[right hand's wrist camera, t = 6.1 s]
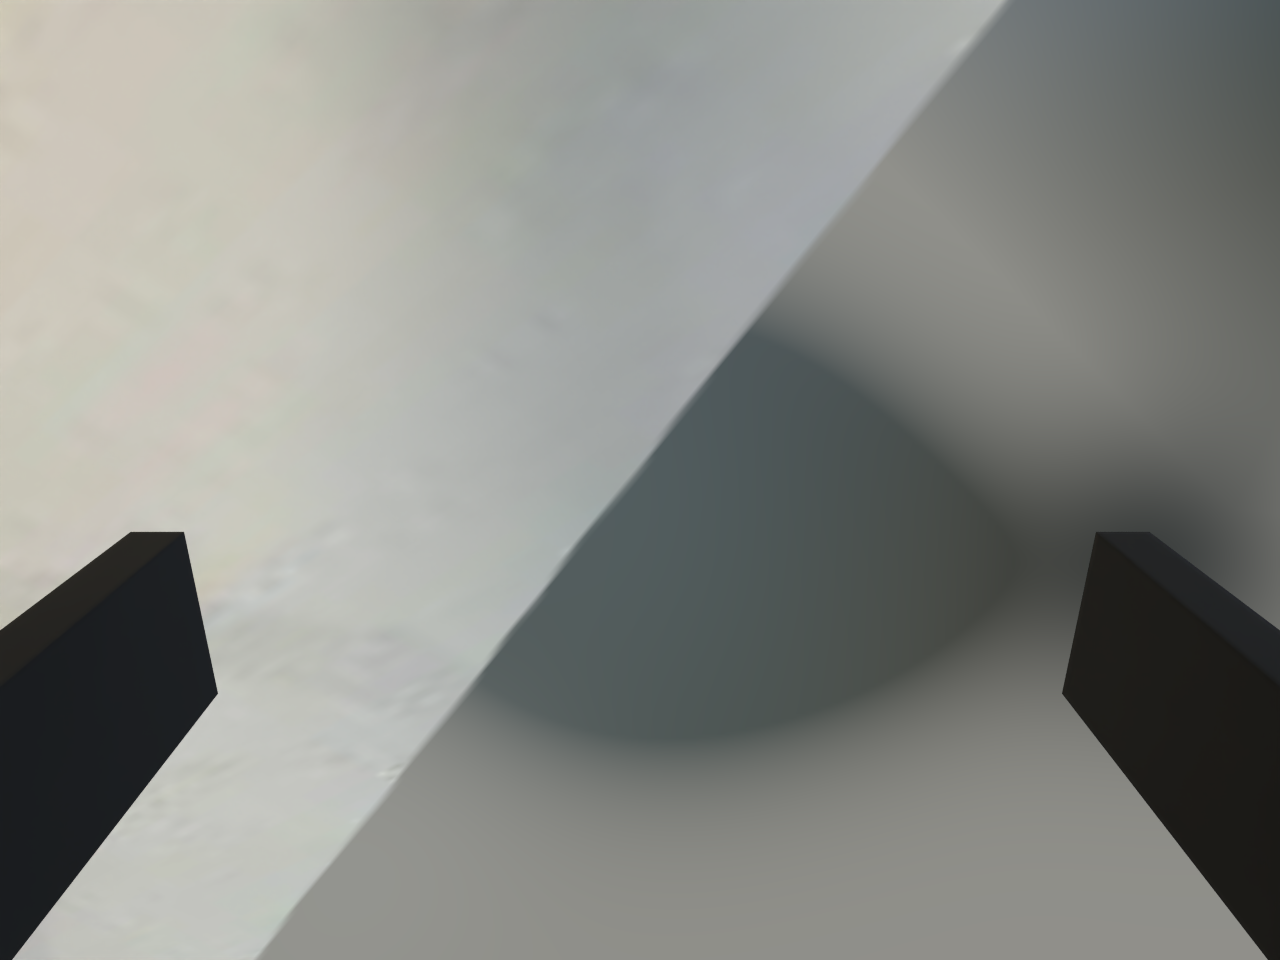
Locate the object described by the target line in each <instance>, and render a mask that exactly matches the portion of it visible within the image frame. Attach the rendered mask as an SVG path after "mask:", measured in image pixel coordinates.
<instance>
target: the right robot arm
mask: <svg viewBox="0 0 1280 960" xmlns="http://www.w3.org/2000/svg"><path fill="white" fill-rule="evenodd" d="M217 694H218V692H217V687H216V682H215V678H214V673H213V668H212V663H211V658H210V654H209V649H208V644H207V639H206V635H205V630H204V625H203V620H202V616H201V611H200V606H199V601H198V597H197V592H196V587H195V582H194V578H193V573H192V568H191V563H190V559H189V554H188V549H187V544H186V540H185V535H184V532H130V533H129V534H127V535H126V536H125V537H123V538H122V539H121V540H119V541H118V542H117V543H115V544H114V545H113V546H112V547H110V548H109V549H108V550H106V551H105V552H104V553H102V554H101V555H100V556H98V557H97V558H96V559H94V560H93V561H92V562H90V563H89V564H88V565H86V566H85V567H84V568H82V569H81V570H80V571H78V572H77V573H76V574H74V575H73V576H72V577H70V578H69V579H68V580H66V581H65V582H64V583H62V584H61V585H60V586H58V587H57V588H56V589H55V590H53V591H52V592H51V593H49V594H48V595H47V596H45V597H44V598H43V599H41V600H40V601H39V602H37V603H36V604H35V605H33V606H32V607H31V608H29V609H28V610H27V611H25V612H24V613H23V614H21V615H20V616H19V617H17V618H16V619H15V620H13V621H12V622H11V623H9V624H8V625H7V626H5V627H4V628H3V629H1V630H0V960H12V959H13V958H14V957H15V955H16V954H17V953H18V951H19V950H20V949H21V947H22V946H23V945H24V944H25V942H26V941H27V940H28V938H29V937H30V936H31V935H32V933H33V932H34V931H35V929H36V928H37V927H38V925H39V924H40V923H41V922H42V920H43V919H44V918H45V916H46V915H47V914H48V913H49V911H50V910H51V909H52V907H53V906H54V905H55V903H56V902H57V901H58V900H59V898H60V897H61V896H62V894H63V893H64V892H65V891H66V889H67V888H68V887H69V885H70V884H71V883H72V882H73V880H74V879H75V878H76V876H77V875H78V874H79V872H80V871H81V870H82V869H83V867H84V866H85V865H86V863H87V862H88V861H89V860H90V858H91V857H92V856H93V854H94V853H95V852H96V850H97V849H98V848H99V847H100V845H101V844H102V843H103V841H104V840H105V839H106V838H107V836H108V835H109V834H110V832H111V831H112V830H113V829H114V827H115V826H116V825H117V823H118V822H119V821H120V819H121V818H122V817H123V816H124V814H125V813H126V812H127V810H128V809H129V808H130V807H131V805H132V804H133V803H134V801H135V800H136V799H137V797H138V796H139V795H140V794H141V792H142V791H143V790H144V788H145V787H146V786H147V785H148V783H149V782H150V781H151V779H152V778H153V777H154V775H155V774H156V773H157V772H158V770H159V769H160V768H161V766H162V765H163V764H164V763H165V761H166V760H167V759H168V757H169V756H170V755H171V754H172V752H173V751H174V750H175V748H176V747H177V746H178V744H179V743H180V742H181V741H182V739H183V738H184V737H185V735H186V734H187V733H188V732H189V730H190V729H191V728H192V726H193V725H194V724H195V722H196V721H197V720H198V719H199V717H200V716H201V715H202V713H203V712H204V711H205V710H206V708H207V707H208V706H209V704H210V703H211V702H212V701H213V699H214V698H215V697H216V695H217ZM1062 694H1063V695H1064V697H1065V698H1066V699H1067V700H1068V702H1069V703H1070V704H1071V706H1072V707H1073V708H1074V710H1075V711H1076V712H1077V713H1078V715H1079V716H1080V717H1081V719H1082V720H1083V721H1084V722H1085V724H1086V725H1087V726H1088V728H1089V729H1090V730H1091V731H1092V733H1093V734H1094V735H1095V737H1096V738H1097V739H1098V741H1099V742H1100V743H1101V744H1102V746H1103V747H1104V748H1105V750H1106V751H1107V752H1108V754H1109V755H1110V756H1111V757H1112V759H1113V760H1114V761H1115V763H1116V764H1117V765H1118V766H1119V768H1120V769H1121V770H1122V772H1123V773H1124V774H1125V775H1126V777H1127V778H1128V779H1129V781H1130V782H1131V783H1132V784H1133V786H1134V787H1135V788H1136V790H1137V791H1138V792H1139V794H1140V795H1141V796H1142V797H1143V799H1144V800H1145V801H1146V803H1147V804H1148V805H1149V806H1150V808H1151V809H1152V810H1153V812H1154V813H1155V814H1156V816H1157V817H1158V818H1159V819H1160V821H1161V822H1162V823H1163V825H1164V826H1165V827H1166V829H1167V830H1168V831H1169V832H1170V834H1171V835H1172V836H1173V838H1174V839H1175V840H1176V841H1177V843H1178V844H1179V845H1180V847H1181V848H1182V849H1183V850H1184V852H1185V853H1186V854H1187V856H1188V857H1189V858H1190V859H1191V861H1192V862H1193V863H1194V865H1195V866H1196V867H1197V869H1198V870H1199V871H1200V872H1201V874H1202V875H1203V876H1204V878H1205V879H1206V880H1207V881H1208V883H1209V884H1210V885H1211V887H1212V888H1213V889H1214V891H1215V892H1216V893H1217V894H1218V896H1219V897H1220V898H1221V900H1222V901H1223V902H1224V903H1225V905H1226V906H1227V907H1228V909H1229V910H1230V911H1231V913H1232V914H1233V915H1234V916H1235V918H1236V919H1237V920H1238V922H1239V923H1240V924H1241V925H1242V927H1243V928H1244V929H1245V931H1246V932H1247V933H1248V934H1249V936H1250V937H1251V938H1252V940H1253V941H1254V942H1255V944H1256V945H1257V946H1258V947H1259V949H1260V950H1261V951H1262V953H1263V954H1264V955H1265V957H1266V958H1267V959H1268V960H1280V630H1279V629H1277V628H1276V627H1275V626H1273V625H1272V624H1271V623H1269V622H1268V621H1267V620H1265V619H1264V618H1263V617H1261V616H1260V615H1259V614H1257V613H1256V612H1255V611H1253V610H1252V609H1251V608H1249V607H1248V606H1247V605H1245V604H1244V603H1243V602H1241V601H1240V600H1239V599H1237V598H1236V597H1235V596H1233V595H1232V594H1231V593H1229V592H1228V591H1227V590H1225V589H1224V588H1223V587H1221V586H1220V585H1219V584H1218V583H1216V582H1215V581H1213V580H1212V579H1211V578H1209V577H1208V576H1207V575H1206V574H1204V573H1203V572H1202V571H1200V570H1199V569H1198V568H1196V567H1195V566H1194V565H1192V564H1191V563H1190V562H1188V561H1187V560H1186V559H1184V558H1183V557H1182V556H1180V555H1179V554H1178V553H1176V552H1175V551H1174V550H1172V549H1171V548H1170V547H1168V546H1167V545H1166V544H1165V543H1163V542H1162V541H1161V540H1159V539H1158V538H1157V537H1155V536H1154V535H1153V534H1151V533H1150V532H1096V535H1095V540H1094V544H1093V549H1092V554H1091V559H1090V563H1089V568H1088V573H1087V578H1086V582H1085V587H1084V592H1083V597H1082V601H1081V607H1080V611H1079V616H1078V621H1077V625H1076V630H1075V635H1074V639H1073V644H1072V649H1071V654H1070V659H1069V663H1068V668H1067V673H1066V678H1065V682H1064V687H1063V692H1062Z"/></svg>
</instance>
